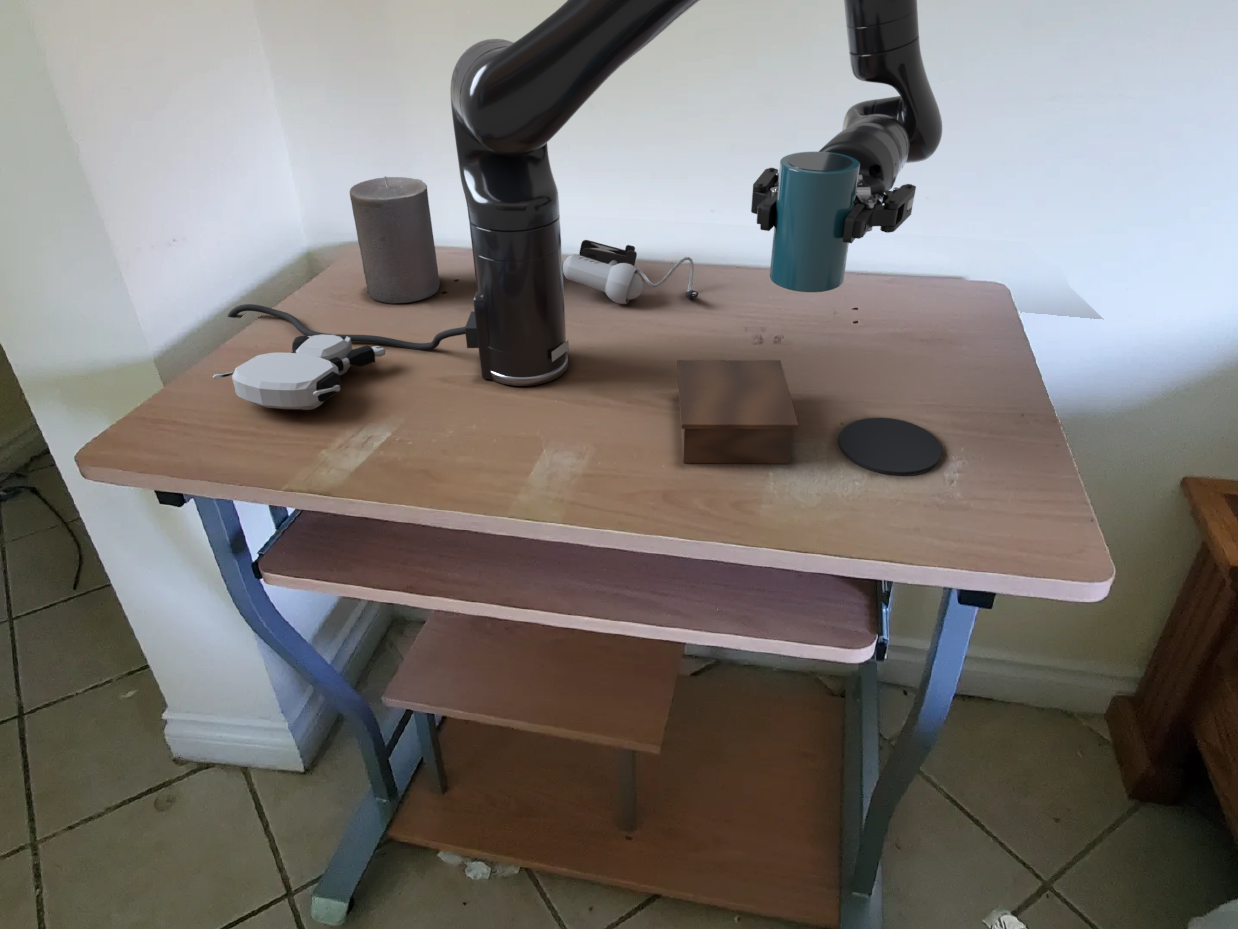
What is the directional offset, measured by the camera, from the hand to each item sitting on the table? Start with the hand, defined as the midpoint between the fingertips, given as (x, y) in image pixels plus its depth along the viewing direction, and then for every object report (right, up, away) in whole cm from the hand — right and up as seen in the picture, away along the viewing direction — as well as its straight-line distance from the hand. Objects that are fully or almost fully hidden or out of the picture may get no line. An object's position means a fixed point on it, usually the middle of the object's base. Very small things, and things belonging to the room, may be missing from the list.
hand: (806, 224), depth 71 cm
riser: (-4, -16, +15) cm, 23 cm away
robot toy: (-49, -12, +23) cm, 55 cm away
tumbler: (+1, -3, +5) cm, 6 cm away
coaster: (+11, -18, +12) cm, 24 cm away
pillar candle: (-44, +4, +45) cm, 63 cm away
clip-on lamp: (-13, +3, +44) cm, 46 cm away
